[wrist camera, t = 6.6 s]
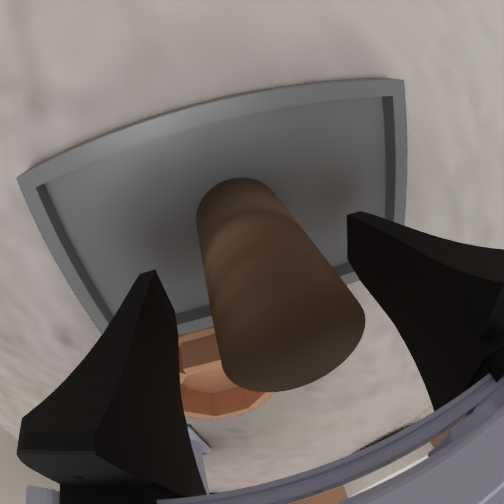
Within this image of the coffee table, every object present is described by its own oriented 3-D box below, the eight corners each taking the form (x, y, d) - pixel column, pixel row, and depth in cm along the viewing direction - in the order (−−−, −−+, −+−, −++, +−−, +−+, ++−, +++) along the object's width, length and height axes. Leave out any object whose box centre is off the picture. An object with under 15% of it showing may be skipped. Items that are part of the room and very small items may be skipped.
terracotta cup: (181, 404, 22) (184, 429, 20) (136, 343, 18) (134, 374, 16) (278, 379, 23) (287, 403, 21) (262, 309, 18) (273, 338, 16)
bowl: (320, 466, 44) (334, 502, 37) (413, 413, 42) (434, 449, 35) (350, 469, 55) (362, 496, 48) (421, 428, 52) (437, 454, 45)
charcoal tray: (116, 332, 17) (114, 350, 16) (29, 167, 11) (16, 177, 10) (387, 252, 18) (399, 265, 17) (385, 78, 12) (403, 79, 11)
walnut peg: (206, 263, 15) (237, 404, 8) (187, 189, 13) (203, 318, 6) (283, 243, 16) (356, 366, 9) (274, 169, 13) (373, 270, 7)
